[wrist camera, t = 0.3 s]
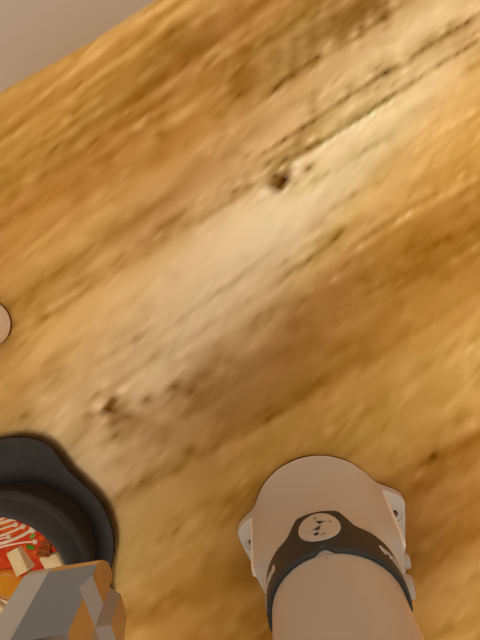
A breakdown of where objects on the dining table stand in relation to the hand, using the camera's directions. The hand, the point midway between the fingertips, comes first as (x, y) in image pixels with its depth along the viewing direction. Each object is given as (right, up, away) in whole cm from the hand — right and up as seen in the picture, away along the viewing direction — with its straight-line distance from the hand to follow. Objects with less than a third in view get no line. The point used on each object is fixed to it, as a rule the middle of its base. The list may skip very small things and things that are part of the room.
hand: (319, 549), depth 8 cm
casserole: (-25, -20, +44) cm, 55 cm away
